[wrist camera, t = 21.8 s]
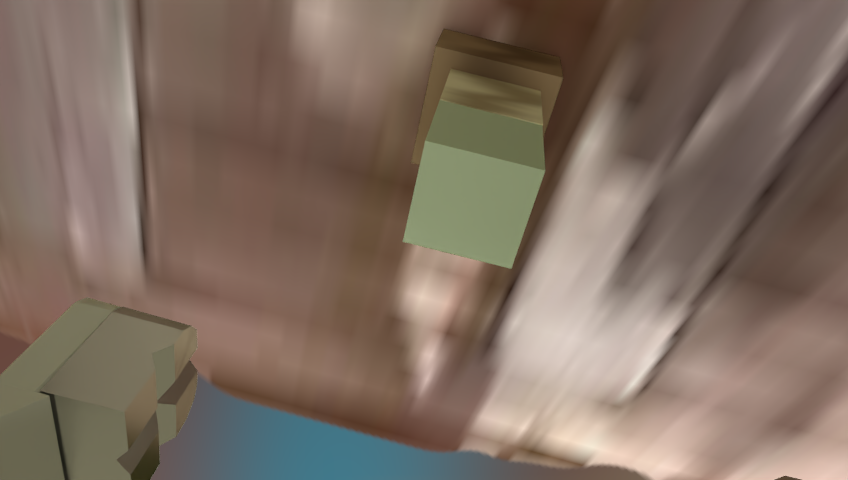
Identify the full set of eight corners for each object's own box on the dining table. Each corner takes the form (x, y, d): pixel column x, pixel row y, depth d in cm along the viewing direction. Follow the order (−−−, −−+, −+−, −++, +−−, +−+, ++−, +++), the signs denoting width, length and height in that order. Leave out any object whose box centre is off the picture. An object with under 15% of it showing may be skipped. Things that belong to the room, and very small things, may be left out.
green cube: (542, 125, 29) (545, 170, 25) (512, 214, 32) (511, 268, 28) (439, 100, 29) (425, 140, 25) (419, 191, 32) (402, 241, 28)
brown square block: (559, 57, 36) (563, 77, 33) (525, 163, 40) (525, 191, 36) (443, 28, 36) (435, 46, 33) (420, 137, 40) (410, 162, 37)
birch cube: (540, 90, 33) (543, 124, 29) (514, 172, 36) (513, 213, 32) (450, 68, 33) (440, 98, 29) (431, 151, 36) (419, 190, 32)
